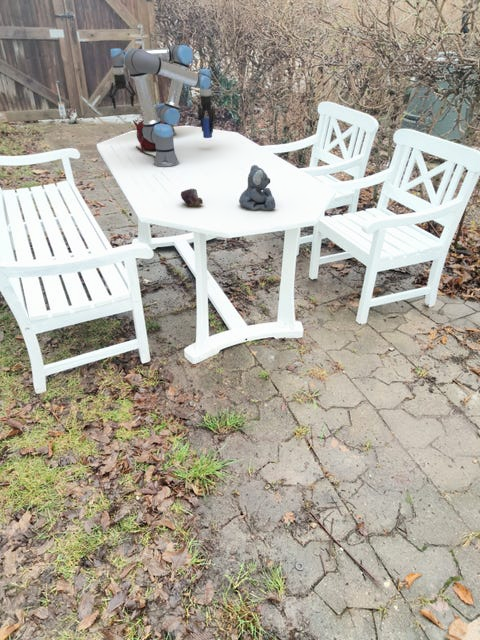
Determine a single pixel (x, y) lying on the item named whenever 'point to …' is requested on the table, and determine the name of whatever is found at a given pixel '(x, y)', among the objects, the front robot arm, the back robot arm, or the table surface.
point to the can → (206, 128)
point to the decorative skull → (142, 139)
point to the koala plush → (257, 191)
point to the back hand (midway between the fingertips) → (123, 107)
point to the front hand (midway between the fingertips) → (207, 131)
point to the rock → (191, 197)
